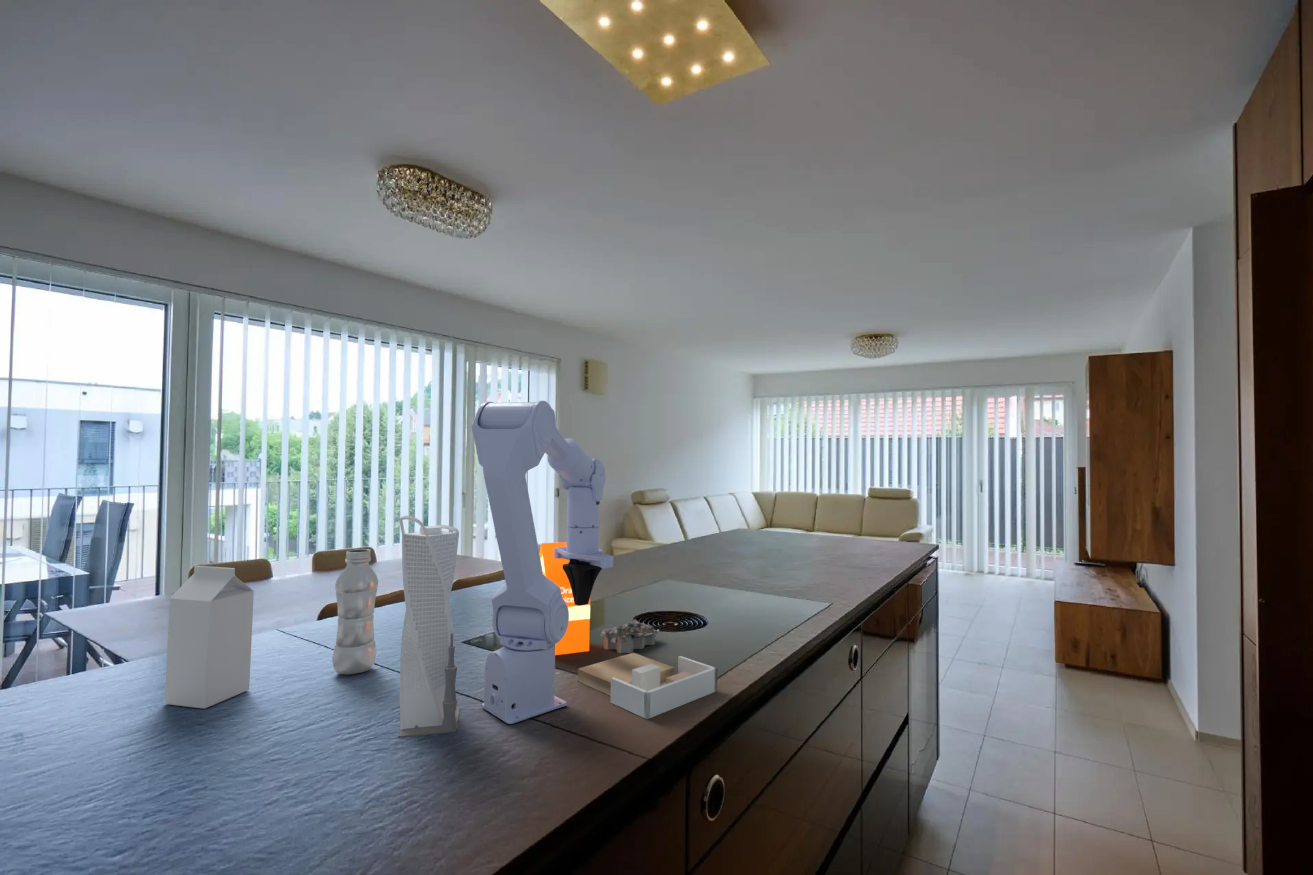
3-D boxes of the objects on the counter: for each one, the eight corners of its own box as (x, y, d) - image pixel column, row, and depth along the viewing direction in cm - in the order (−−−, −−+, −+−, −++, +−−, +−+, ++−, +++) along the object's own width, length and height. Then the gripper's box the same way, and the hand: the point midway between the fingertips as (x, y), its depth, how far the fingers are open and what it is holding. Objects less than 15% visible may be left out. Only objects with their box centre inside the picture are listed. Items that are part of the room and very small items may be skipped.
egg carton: (623, 656, 107) (624, 634, 108) (596, 647, 113) (596, 626, 113) (662, 644, 115) (662, 623, 116) (635, 636, 120) (635, 616, 121)
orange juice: (533, 644, 113) (535, 540, 114) (577, 639, 117) (579, 538, 118) (543, 657, 106) (545, 545, 107) (589, 651, 110) (591, 543, 111)
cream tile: (631, 696, 88) (640, 700, 86) (632, 669, 88) (641, 673, 86) (650, 689, 90) (660, 693, 89) (651, 663, 91) (660, 666, 89)
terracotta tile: (666, 677, 90) (665, 690, 90) (685, 684, 87) (685, 698, 87) (683, 671, 93) (683, 684, 93) (702, 678, 90) (702, 691, 90)
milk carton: (204, 709, 82) (211, 572, 82) (163, 705, 83) (170, 570, 84) (249, 690, 89) (255, 564, 89) (210, 686, 90) (217, 562, 91)
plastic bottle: (384, 666, 100) (388, 548, 101) (360, 680, 93) (364, 554, 94) (348, 664, 101) (352, 547, 102) (322, 678, 94) (327, 553, 95)
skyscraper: (385, 740, 74) (393, 518, 75) (396, 714, 82) (403, 513, 83) (456, 733, 76) (462, 517, 78) (459, 708, 84) (465, 512, 85)
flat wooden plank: (618, 699, 87) (618, 685, 87) (577, 681, 94) (578, 668, 94) (674, 679, 96) (674, 667, 96) (633, 664, 103) (633, 652, 103)
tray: (646, 719, 81) (647, 693, 81) (610, 702, 86) (610, 678, 86) (716, 690, 91) (717, 668, 91) (680, 677, 97) (680, 655, 97)
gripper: (627, 528, 101) (626, 608, 100) (576, 521, 111) (575, 593, 111) (595, 531, 96) (593, 615, 95) (545, 524, 106) (543, 599, 106)
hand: (581, 604), depth 103 cm, fingers closed
